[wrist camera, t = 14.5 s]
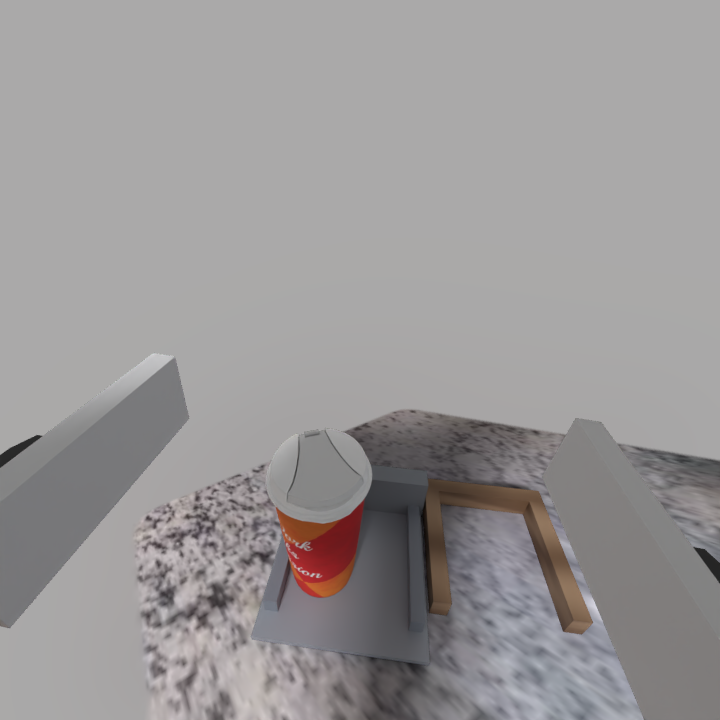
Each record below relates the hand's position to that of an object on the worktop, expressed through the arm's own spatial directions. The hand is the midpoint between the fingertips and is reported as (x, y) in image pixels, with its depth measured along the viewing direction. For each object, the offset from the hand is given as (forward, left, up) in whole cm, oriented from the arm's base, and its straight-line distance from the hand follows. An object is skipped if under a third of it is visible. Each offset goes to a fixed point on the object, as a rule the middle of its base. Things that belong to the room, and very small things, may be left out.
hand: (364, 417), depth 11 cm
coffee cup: (-1, -9, -28) cm, 29 cm away
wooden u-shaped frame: (-18, -4, -28) cm, 34 cm away
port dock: (-4, -9, -28) cm, 30 cm away
